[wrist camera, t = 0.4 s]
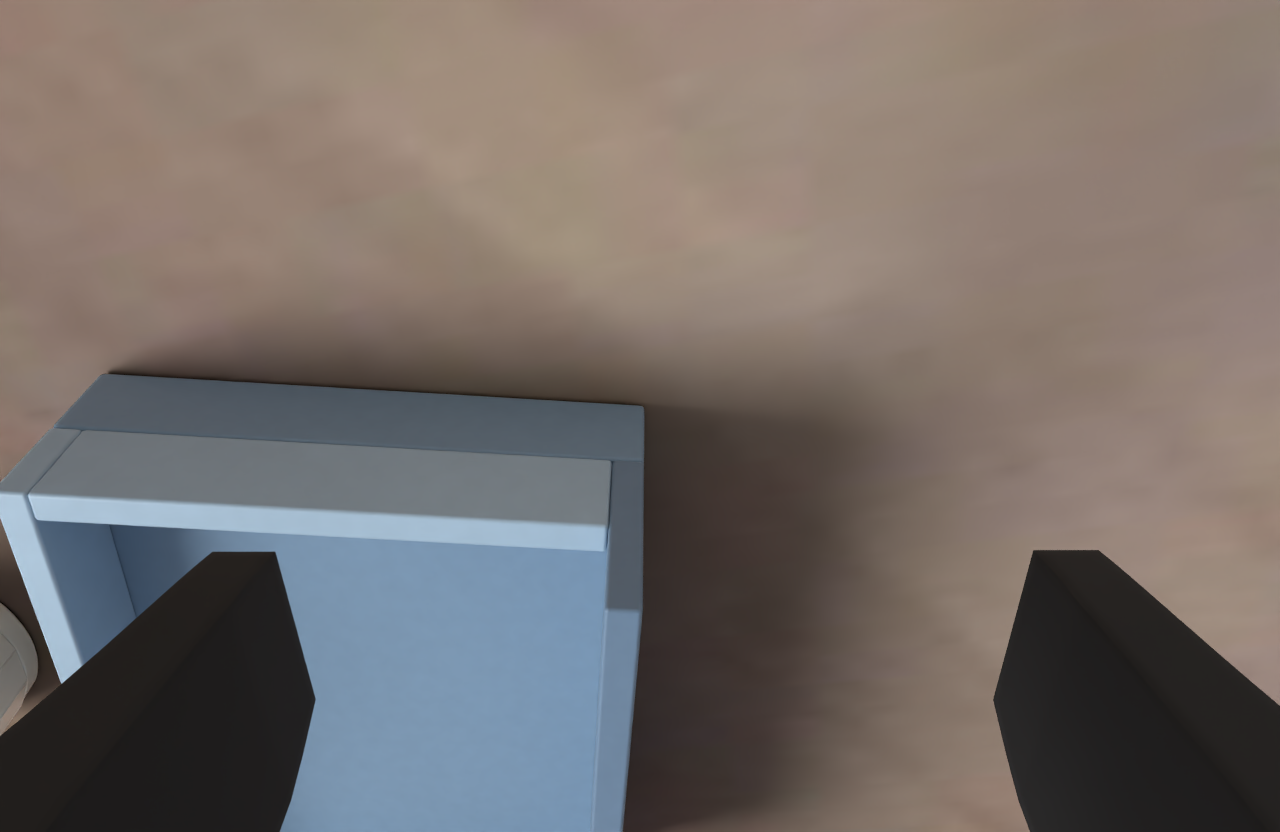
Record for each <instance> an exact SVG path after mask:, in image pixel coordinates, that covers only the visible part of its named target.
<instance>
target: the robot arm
mask: <svg viewBox="0 0 1280 832" xmlns="http://www.w3.org/2000/svg"><path fill="white" fill-rule="evenodd" d="M315 701H316V698H315V695H314V691H313V687H312V684H311V680H310V676H309V673H308V669H307V665H306V662H305V658H304V654H303V651H302V647H301V643H300V640H299V636H298V632H297V629H296V625H295V621H294V618H293V614H292V611H291V607H290V603H289V600H288V596H287V592H286V589H285V585H284V581H283V578H282V574H281V570H280V567H279V563H278V559H277V556H276V552H211V553H210V554H209V555H208V556H206V557H205V558H204V559H203V560H202V561H200V562H199V563H198V564H197V565H196V566H194V567H193V568H192V569H191V570H190V571H189V572H188V573H186V574H185V575H184V576H183V577H182V578H181V579H180V580H178V581H177V582H176V583H175V584H174V585H173V586H172V587H170V588H169V589H168V590H167V591H166V592H165V593H164V594H163V595H161V596H160V597H159V598H158V599H157V600H156V601H155V602H154V603H153V604H151V605H150V606H149V607H148V608H147V609H146V610H145V611H144V612H142V613H141V614H140V615H139V616H138V617H137V618H136V619H135V620H134V621H132V622H131V623H130V624H129V625H128V626H127V627H126V628H125V629H123V630H122V631H121V632H120V633H119V634H118V635H117V636H116V637H115V638H113V639H112V640H111V641H110V642H109V643H108V644H107V645H106V646H104V647H103V648H102V649H101V650H100V651H99V652H98V653H96V654H95V655H94V656H93V657H92V658H91V659H90V660H88V661H87V662H86V663H85V664H84V665H83V666H81V667H80V668H79V669H78V670H77V671H76V672H75V673H73V674H72V675H71V676H70V677H69V678H68V679H67V680H65V681H64V682H63V683H62V684H61V685H60V686H59V687H57V688H56V689H55V690H54V691H53V692H52V693H50V694H49V695H48V696H47V697H46V698H45V699H44V700H42V701H41V702H40V703H39V704H38V705H37V706H36V707H34V708H33V709H32V710H31V711H30V712H29V713H27V714H26V715H25V716H24V717H23V718H22V719H20V720H19V721H18V722H17V723H16V724H14V725H13V726H12V727H11V728H9V729H8V730H7V731H6V732H4V733H3V734H2V735H1V736H0V832H280V830H281V827H282V824H283V821H284V819H285V816H286V813H287V810H288V808H289V805H290V802H291V799H292V795H293V792H294V788H295V784H296V780H297V776H298V772H299V768H300V764H301V761H302V757H303V753H304V748H305V744H306V740H307V735H308V731H309V727H310V722H311V718H312V714H313V709H314V705H315ZM993 701H994V705H995V709H996V713H997V717H998V722H999V726H1000V730H1001V734H1002V738H1003V742H1004V747H1005V751H1006V755H1007V759H1008V763H1009V766H1010V770H1011V774H1012V777H1013V781H1014V785H1015V789H1016V792H1017V796H1018V800H1019V803H1020V806H1021V808H1022V811H1023V814H1024V816H1025V819H1026V822H1027V824H1028V827H1029V830H1030V832H1280V706H1279V705H1278V704H1277V703H1276V702H1275V701H1273V700H1272V699H1271V698H1270V697H1269V696H1267V695H1266V694H1265V693H1264V692H1263V691H1261V690H1260V689H1259V688H1258V687H1257V686H1256V685H1254V684H1253V683H1252V682H1251V681H1250V680H1249V679H1247V678H1246V677H1245V676H1244V675H1243V674H1242V673H1240V672H1239V671H1238V670H1237V669H1236V668H1235V667H1233V666H1232V665H1231V664H1230V663H1229V662H1228V661H1226V660H1225V659H1224V658H1223V657H1222V656H1221V655H1219V654H1218V653H1217V652H1216V651H1215V650H1214V649H1213V648H1211V647H1210V646H1209V645H1208V644H1207V643H1206V642H1205V641H1203V640H1202V639H1201V638H1200V637H1199V636H1198V635H1197V634H1195V633H1194V632H1193V631H1192V630H1191V629H1190V628H1188V627H1187V626H1186V625H1185V624H1184V623H1183V622H1182V621H1180V620H1179V619H1178V618H1177V617H1176V616H1175V615H1174V614H1172V613H1171V612H1170V611H1169V610H1168V609H1167V608H1166V607H1164V606H1163V605H1162V604H1161V603H1160V602H1159V601H1158V600H1156V599H1155V598H1154V597H1153V596H1152V595H1151V594H1150V593H1148V592H1147V591H1146V590H1145V589H1144V588H1143V587H1142V586H1140V585H1139V584H1138V583H1137V582H1136V581H1135V580H1134V579H1132V578H1131V577H1130V576H1129V575H1128V574H1127V573H1125V572H1124V571H1123V570H1122V569H1121V568H1119V567H1118V566H1117V565H1116V564H1115V563H1113V562H1112V561H1111V560H1110V559H1109V558H1107V557H1106V556H1105V555H1104V554H1102V553H1101V552H1100V551H1099V550H1033V554H1032V558H1031V561H1030V565H1029V569H1028V572H1027V576H1026V580H1025V584H1024V587H1023V591H1022V595H1021V598H1020V602H1019V606H1018V610H1017V613H1016V617H1015V621H1014V624H1013V628H1012V632H1011V636H1010V639H1009V643H1008V647H1007V650H1006V654H1005V658H1004V662H1003V665H1002V669H1001V673H1000V676H999V680H998V684H997V688H996V691H995V695H994V699H993Z"/></svg>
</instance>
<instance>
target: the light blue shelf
mask: <svg viewBox="0 0 1280 832" xmlns="http://www.w3.org/2000/svg"><path fill="white" fill-rule="evenodd" d="M0 518H1V521H2V524H3V526H4V529H5V532H6V534H7V537H8V540H9V543H10V545H11V548H12V551H13V554H14V556H15V559H16V562H17V564H18V567H19V570H20V573H21V575H22V578H23V581H24V583H25V586H26V589H27V592H28V594H29V597H30V600H31V602H32V605H33V608H34V611H35V613H36V616H37V619H38V622H39V624H40V627H41V630H42V632H43V635H44V638H45V641H46V643H47V646H48V649H49V651H50V654H51V657H52V660H53V662H54V665H55V668H56V670H57V673H58V676H59V679H60V681H61V684H62V683H63V682H64V681H65V680H67V679H68V678H69V677H70V676H71V675H72V674H73V673H75V672H76V671H77V670H78V669H79V668H80V667H81V666H83V665H84V664H85V663H86V662H87V661H88V660H90V659H91V658H92V657H93V656H94V655H95V654H96V653H98V652H99V651H100V650H101V649H102V648H103V647H104V646H106V645H107V644H108V643H109V642H110V641H111V640H112V639H113V638H115V637H116V636H117V635H118V634H119V633H120V632H121V631H122V630H123V629H125V628H126V627H127V626H128V625H129V624H130V623H131V622H132V621H134V620H135V619H136V618H137V617H138V616H139V615H140V614H141V613H142V612H144V611H145V610H146V609H147V608H148V607H149V606H150V605H151V604H153V603H154V602H155V601H156V600H157V599H158V598H159V597H160V596H161V595H163V594H164V593H165V592H166V591H167V590H168V589H169V588H170V587H172V586H173V585H174V584H175V583H176V582H177V581H178V580H180V579H181V578H182V577H183V576H184V575H185V574H186V573H188V572H189V571H190V570H191V569H192V568H193V567H194V566H196V565H197V564H198V563H199V562H200V561H202V560H203V559H204V558H205V557H206V556H208V555H209V554H210V553H211V552H276V556H277V559H278V563H279V567H280V570H281V574H282V578H283V581H284V585H285V589H286V592H287V596H288V600H289V603H290V607H291V611H292V614H293V618H294V621H295V625H296V629H297V632H298V636H299V640H300V643H301V647H302V651H303V654H304V658H305V662H306V665H307V669H308V673H309V676H310V680H311V684H312V687H313V691H314V695H315V698H316V701H315V705H314V709H313V714H312V718H311V722H310V727H309V731H308V735H307V740H306V744H305V748H304V753H303V757H302V761H301V764H300V768H299V772H298V776H297V780H296V784H295V788H294V792H293V795H292V799H291V802H290V805H289V808H288V810H287V813H286V816H285V819H284V821H283V824H282V827H281V830H280V832H623V824H624V813H625V802H626V791H627V780H628V768H629V757H630V746H631V735H632V724H633V713H634V702H635V691H636V680H637V669H638V658H639V647H640V636H641V625H642V614H643V519H644V408H643V407H642V406H637V405H620V404H604V403H587V402H570V401H553V400H536V399H520V398H503V397H486V396H469V395H452V394H435V393H419V392H402V391H385V390H368V389H351V388H334V387H318V386H301V385H284V384H267V383H250V382H233V381H217V380H200V379H183V378H166V377H149V376H133V375H116V374H102V375H100V376H99V377H98V378H97V379H96V380H95V382H94V383H93V384H92V385H91V386H90V387H89V388H88V389H87V390H86V391H85V392H84V393H83V394H82V396H81V397H80V398H79V399H78V400H77V401H76V402H75V403H74V404H73V405H72V406H71V407H70V408H69V410H68V411H67V412H66V413H65V414H64V415H63V416H62V417H61V418H60V419H59V420H58V421H57V423H56V424H55V425H54V428H52V429H50V430H48V432H47V433H46V434H45V435H44V436H43V437H42V438H41V439H40V440H39V441H38V442H37V443H36V444H35V446H34V447H33V448H32V449H31V450H30V451H29V452H28V453H27V454H26V455H25V456H24V457H23V458H22V460H21V461H20V462H19V463H18V464H17V465H16V466H15V467H14V468H13V469H12V470H11V471H10V473H9V474H8V475H7V476H6V477H5V478H4V479H3V480H2V481H1V482H0Z"/></svg>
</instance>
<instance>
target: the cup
mask: <svg viewBox="0 0 1280 832" xmlns="http://www.w3.org/2000/svg"><path fill="white" fill-rule="evenodd" d="M37 671H38V657H37V652H36V649H35V646H34V643H33V641H32V639H31V637H30V635H29V634H28V632H27V631H26V629H25V628H24V626H23V625H22V624H21V622H20V621H19V620H18V619H17V618H16V616H15V615H14V614H13V613H12V612H11V611H9V610H8V609H7V608H6V607H5V606H4V605H3V604H2V603H0V736H1V735H2V734H3V733H4V731H5V730H6V728H7V727H8V725H9V724H10V722H11V721H12V719H13V718H14V716H15V715H16V713H17V712H18V710H19V709H20V708H21V706H22V703H23V700H24V698H25V697H26V695H27V694H28V693H29V691H30V689H31V688H32V686H33V685H34V683H35V680H36V677H37Z"/></svg>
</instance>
